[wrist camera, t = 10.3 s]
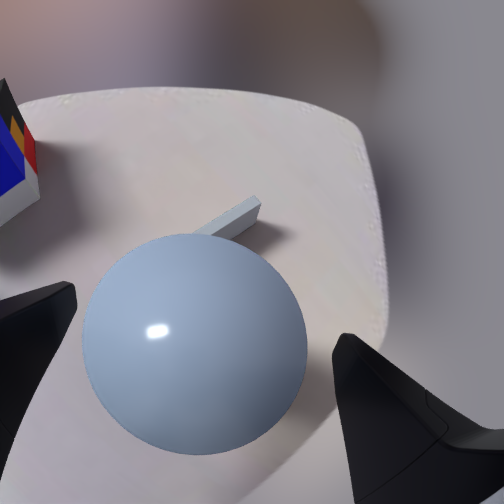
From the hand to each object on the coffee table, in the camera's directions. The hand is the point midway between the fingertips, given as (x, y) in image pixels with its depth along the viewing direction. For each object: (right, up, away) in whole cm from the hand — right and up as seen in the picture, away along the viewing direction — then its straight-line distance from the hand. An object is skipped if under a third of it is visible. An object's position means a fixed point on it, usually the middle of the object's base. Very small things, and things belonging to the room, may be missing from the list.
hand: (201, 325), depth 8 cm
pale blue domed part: (-2, -5, +9) cm, 10 cm away
